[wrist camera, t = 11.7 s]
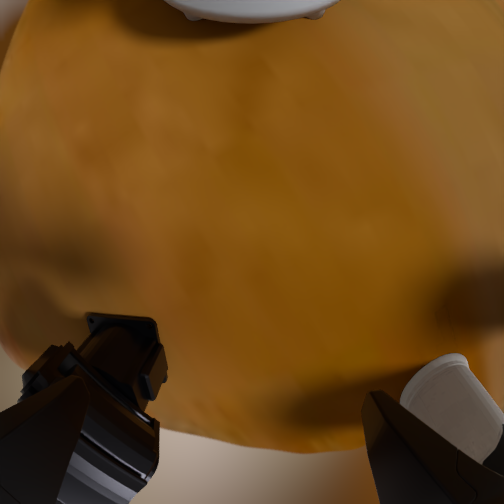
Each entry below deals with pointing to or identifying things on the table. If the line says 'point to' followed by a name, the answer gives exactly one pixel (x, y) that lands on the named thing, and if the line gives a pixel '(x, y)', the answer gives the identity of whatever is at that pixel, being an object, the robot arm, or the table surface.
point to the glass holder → (458, 409)
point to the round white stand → (251, 10)
